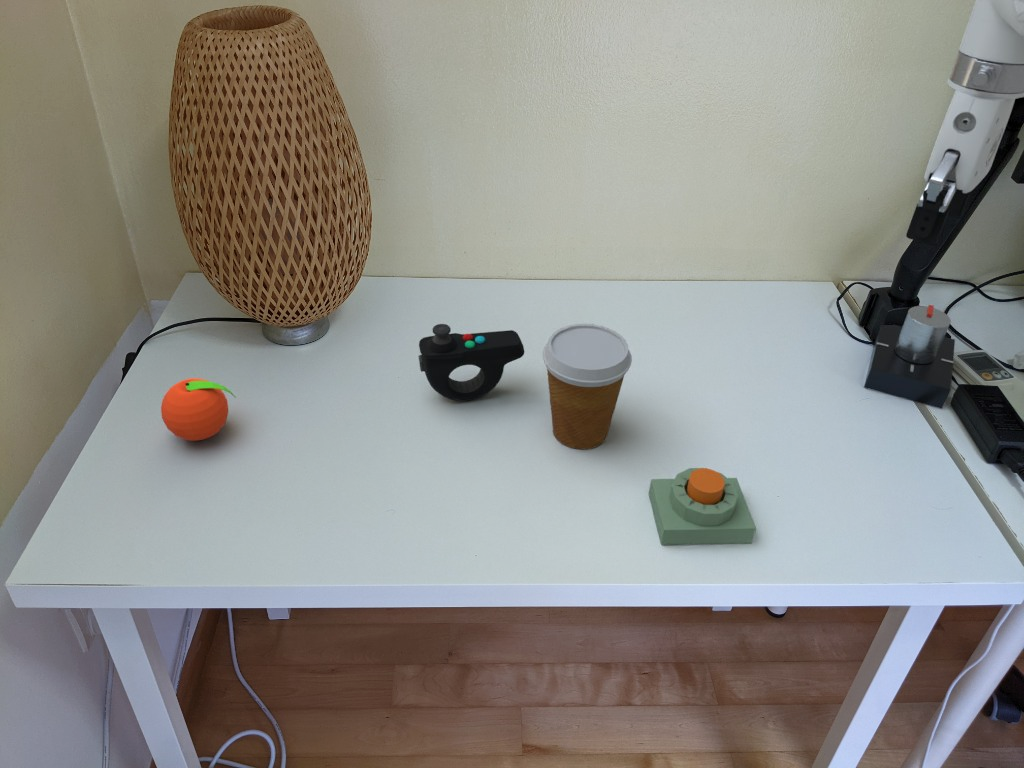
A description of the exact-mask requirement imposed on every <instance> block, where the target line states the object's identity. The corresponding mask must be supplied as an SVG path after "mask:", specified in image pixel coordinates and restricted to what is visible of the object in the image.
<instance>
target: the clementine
mask: <svg viewBox="0 0 1024 768" xmlns="http://www.w3.org/2000/svg"><path fill="white" fill-rule="evenodd" d="M224 391H225V392H227V393H229V394H231V396H233V397H234V398H236V399H237V397H236V396H235V394H234V393H233V392H232V391H231V390H230V389H228V388H227V387H226V386H224V385H222V384H220V383H217V382H213V381H210V380H207V379H205V378H195V377H193V378H186V379H183V380H180V381H179V382H177V383H174V384H173V385H172V386H171V387H169V389H168V390H167V391H166V393H165V394H164V395H163V399H162V402H161V407H160V414H161V419H162V421H163V423H164V425H165V426H166V428H167V430H168V431H169V432H171V434H173V435H174V436H176V437H178V438H180V439H183V440H186V441H190V442H194V441H195V442H196V441H197V442H198V441H202V440H206V439H209V438H211V437H213V436H215V435H217V433H218V432H220V431H221V429H222V428H223V426H224V425H225V424H226V422H227V419H228V415H229V404H228V403H229V402H228V399H227V396H226V395H225V393H224Z"/></svg>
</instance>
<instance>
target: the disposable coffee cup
mask: <svg viewBox="0 0 1024 768" xmlns="http://www.w3.org/2000/svg"><path fill="white" fill-rule="evenodd" d="M542 359H543V363H544V365H545V367H546V371H547V381H548V383H547V384H548V393H549V402H550V403H549V404H550V411H551V412H550V413H551V414H550V415H551V423H552V433H553V436H554V438H555V439H556V441H558V442H559V443H560V444H562V445H563V446H566V447H568V448H570V449H575V450H590V449H595V448H596V447H597V448H598V447H599V446H601V445H602V444H603V443H605V441H606V439H607V437H608V435H609V434H608V433H609V430H610V426H611V423H612V419H613V416H614V413H615V409H616V406H617V403H618V399H619V396H620V392H621V389H622V385H623V381H624V378H625V375H626V374H627V372H628V371H629V369H630V368H631V366H632V361H633V357H632V353H631V351H630V348H629V344H628V342H627V340H626V339H625V338H624V337H623V336H622V335H621V334H620V333H618V332H617V331H616V330H613V329H611V328H609V327H607V326H606V327H605V326H604V325H599V324H592V323H575V324H570V325H565V326H562V327H560V328H558V329H556V330H555V331H554V332H552V334H551V335H550V336H549V338H548V341H547V342H546V344H545V345H544V347H543V348H542Z"/></svg>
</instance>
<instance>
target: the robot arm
mask: <svg viewBox="0 0 1024 768" xmlns="http://www.w3.org/2000/svg"><path fill="white" fill-rule="evenodd" d="M961 38H962V39H961V42H960V45H959V47H958V50H957V53H956V56H955V58H954V61H953V64H952V67H951V70H950V73H949V75H948V78H947V86H948V87H950V88H951V89H953V90H955V91H954V93H953V96H952V98H951V101H950V102H949V103H950V104H949V106H948V108H947V110H946V113H945V116H944V118H943V121H942V123H941V127H940V129H939V132H938V134H937V138H936V140H935V143H934V144H933V145H934V146H933V148H932V151H931V154H930V157H929V159H928V162H927V166H926V169H925V173H924V176H923V179H924V181H925V183H926V186H925V187H924V190H923V192H922V194H921V196H920V198H919V200H918V202H917V204H916V205H915V209H914V211H913V213H912V214H913V215H912V217H911V220H910V223H909V225H908V228H907V231H906V234H905V236H906V238H907V239H909V240H912V241H915V242H919V243H922V244H926V245H929V246H934V245H936V244H937V243H938V241H939V238H940V235H941V233H942V230H943V227H944V225H945V222H946V220H947V217H948V216H953V217H957V218H959V217H960V216H961V215H962V214H963V212H964V209H965V207H966V204H967V202H968V199H969V197H970V194H971V192H972V191H973V190H974V189H975V188H976V187H977V186H978V185H979V184H980V183H981V182H982V181H983V179H985V177H986V176H987V175H988V173H989V172H990V171H991V168H992V165H993V163H994V161H995V157H996V154H997V153H998V149H999V146H1000V143H1001V140H1002V138H1003V136H1004V133H1005V130H1006V127H1007V126H1008V122H1009V119H1010V116H1011V113H1012V111H1013V108H1014V105H1015V101H1016V99H1020V98H1021V99H1022V98H1024V0H975V1H974V4H973V7H972V10H971V13H970V16H969V18H968V21H967V24H966V27H965V29H964V32H963V36H962V37H961Z"/></svg>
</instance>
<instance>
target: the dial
mask: <svg viewBox="0 0 1024 768" xmlns="http://www.w3.org/2000/svg"><path fill="white" fill-rule="evenodd" d="M951 323H952V322H951V318H950V316H949V315H948V314H946V313H945V312H944V311H942V310H940V309H938V308H935V305H934V304H933V305H932V304H928V306H926V305H916V306H912V307H911V308H909V309H908V311H907V313H906V316H905V318H904V322H903V324H902V325H901V326H902V329H901V331H900V334H899V337H898V339H897V342H896V344H895V347H894V350H895V352H896V354H897V355H898V356H900V357H901V358H903V359H904V360H907V361H909V362H912V363H917V364H928V363H931V362H933V361H934V360H935V358H936V355H937V353H938V351H939V348H940V346H941V344H942V341H943V339H944V337H946V334H947V333H948V330H949V327H950V325H951Z"/></svg>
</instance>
